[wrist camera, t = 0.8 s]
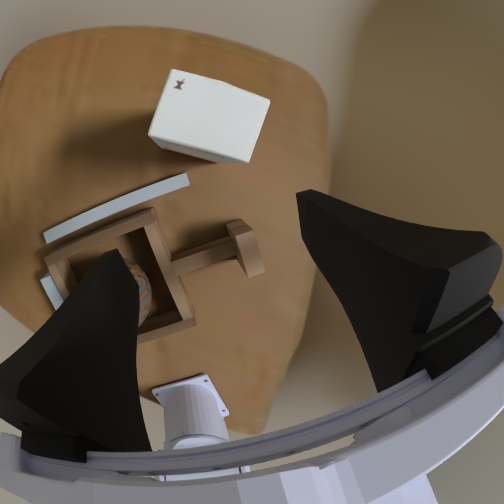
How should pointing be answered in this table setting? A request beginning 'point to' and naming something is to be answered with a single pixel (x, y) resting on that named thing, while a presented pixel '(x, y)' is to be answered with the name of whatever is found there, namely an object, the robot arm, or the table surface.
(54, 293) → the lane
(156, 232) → the wooden handled frame
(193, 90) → the skincare box
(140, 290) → the vase
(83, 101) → the table surface
